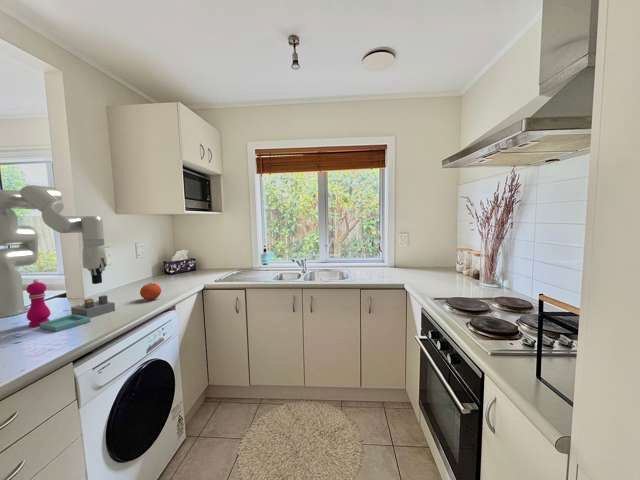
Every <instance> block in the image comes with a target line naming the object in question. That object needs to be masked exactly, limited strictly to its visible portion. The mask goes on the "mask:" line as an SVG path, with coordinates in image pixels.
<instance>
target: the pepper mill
mask: <svg viewBox="0 0 640 480" xmlns="http://www.w3.org/2000/svg"><path fill="white" fill-rule="evenodd" d="M32 282H33V283H30V284H29V285H27V287H26V293H27V294H29V295H28V299H29V300H30V307H29V311H27V313H26V320H28V321H29V322H28V327H29V328H40V323H43V322H47V321H51V320H50V318H49V317H50V315H51V310H50V308H49V307H48V306H47V304H46V303H45V297H46V293H45V292H46V291H47V285H46V284H45V283H43V282H40V280H39V279H37V278H36V279H33V280H32Z"/></svg>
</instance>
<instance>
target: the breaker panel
mask: <svg viewBox="0 0 640 480" xmlns="http://www.w3.org/2000/svg"><path fill="white" fill-rule="evenodd" d="M70 310H71V313H70V314H71V315H73V314H75V315H80V316H85V317H90V319H91V318H94V317H98V316H102V315H105V314H108V313H111V312H115V311H116V305H115V302H112V301H108V303H105V304H99V299H98V300H94V307H90V308H85V303H83V304H78V305H75V306H71V308H70Z"/></svg>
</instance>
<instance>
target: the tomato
mask: <svg viewBox="0 0 640 480" xmlns="http://www.w3.org/2000/svg"><path fill="white" fill-rule="evenodd" d="M139 294H140V297H141V298H143V299H144V300H148V301H150V300H151V301H152V300H155V299H158V297H159V296H160V295H161V294H162V287H161V286H160V285H159V284H157V283H155V282H154V283H152V282H151V281H150V282H149V283H146V284H144V285H143V286H141V288H140V291H139Z"/></svg>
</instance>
